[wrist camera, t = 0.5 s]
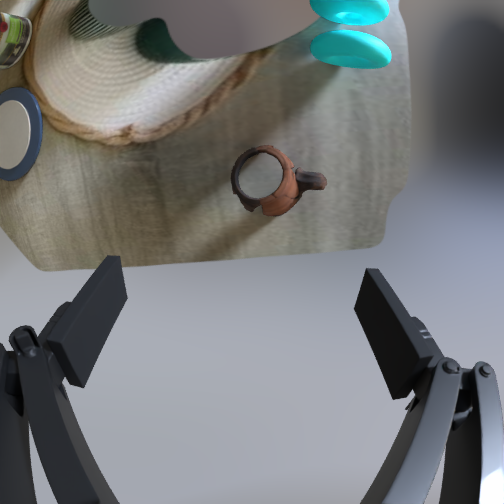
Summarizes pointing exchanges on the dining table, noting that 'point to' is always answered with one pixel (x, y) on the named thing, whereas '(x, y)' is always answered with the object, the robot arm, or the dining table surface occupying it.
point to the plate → (19, 132)
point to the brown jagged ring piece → (288, 188)
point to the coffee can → (13, 38)
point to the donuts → (351, 34)
